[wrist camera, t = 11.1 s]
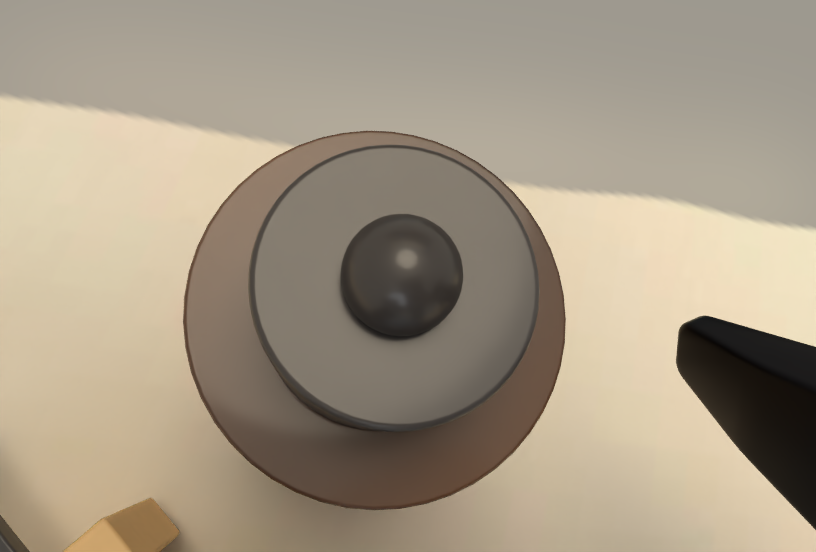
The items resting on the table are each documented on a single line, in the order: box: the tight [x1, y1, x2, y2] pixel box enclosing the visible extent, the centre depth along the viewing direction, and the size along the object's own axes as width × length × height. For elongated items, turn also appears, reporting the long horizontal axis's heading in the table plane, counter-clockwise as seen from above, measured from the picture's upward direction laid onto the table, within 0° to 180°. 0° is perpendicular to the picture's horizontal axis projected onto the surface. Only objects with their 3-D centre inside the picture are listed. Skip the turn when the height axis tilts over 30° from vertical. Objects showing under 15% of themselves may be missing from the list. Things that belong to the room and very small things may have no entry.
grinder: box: [183, 131, 566, 510], centre depth 12 cm, size 5×5×13 cm
